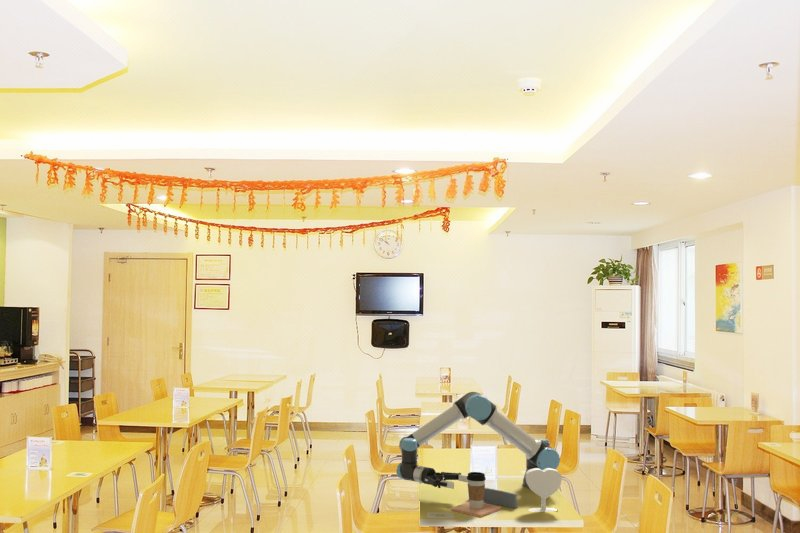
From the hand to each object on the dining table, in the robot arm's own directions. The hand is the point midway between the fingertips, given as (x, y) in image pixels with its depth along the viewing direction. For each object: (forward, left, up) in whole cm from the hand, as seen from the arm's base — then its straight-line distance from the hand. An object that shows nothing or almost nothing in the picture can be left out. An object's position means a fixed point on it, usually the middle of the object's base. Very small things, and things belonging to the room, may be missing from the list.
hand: (462, 482), depth 308 cm
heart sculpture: (-33, +14, -11) cm, 38 cm away
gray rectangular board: (-16, -2, -11) cm, 19 cm away
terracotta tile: (-4, +6, -11) cm, 13 cm away
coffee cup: (-4, +6, -10) cm, 12 cm away
